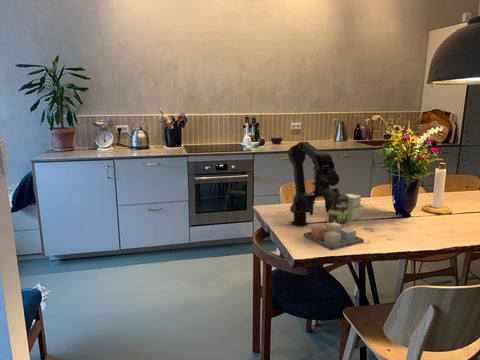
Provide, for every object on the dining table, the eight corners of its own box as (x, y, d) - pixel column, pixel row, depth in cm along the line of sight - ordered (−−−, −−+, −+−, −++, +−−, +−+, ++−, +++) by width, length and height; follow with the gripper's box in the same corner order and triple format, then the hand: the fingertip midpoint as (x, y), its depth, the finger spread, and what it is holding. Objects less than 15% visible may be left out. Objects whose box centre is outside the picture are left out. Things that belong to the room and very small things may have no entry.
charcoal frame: (303, 236, 181) (303, 226, 180) (334, 229, 190) (334, 219, 189) (331, 250, 165) (331, 239, 163) (363, 242, 173) (364, 231, 172)
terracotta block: (311, 237, 180) (311, 227, 179) (319, 235, 182) (319, 225, 181) (318, 240, 176) (318, 230, 175) (326, 238, 178) (327, 228, 177)
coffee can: (351, 224, 197) (352, 198, 194) (333, 226, 194) (334, 199, 191) (340, 218, 206) (342, 193, 203) (323, 220, 204) (324, 194, 200)
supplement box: (351, 221, 202) (353, 198, 199) (339, 218, 208) (341, 195, 205) (359, 218, 207) (361, 195, 204) (348, 215, 212) (349, 193, 209)
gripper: (316, 187, 164) (314, 222, 167) (349, 182, 172) (346, 215, 176) (300, 181, 173) (298, 214, 177) (332, 177, 182) (330, 209, 185)
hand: (319, 213), depth 178 cm, fingers open, 9 cm apart
